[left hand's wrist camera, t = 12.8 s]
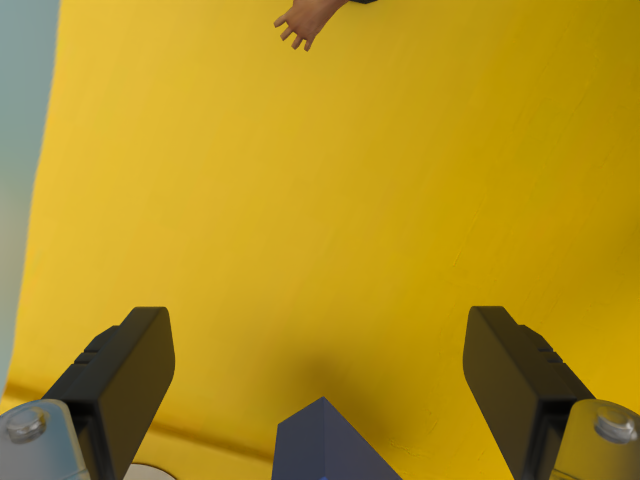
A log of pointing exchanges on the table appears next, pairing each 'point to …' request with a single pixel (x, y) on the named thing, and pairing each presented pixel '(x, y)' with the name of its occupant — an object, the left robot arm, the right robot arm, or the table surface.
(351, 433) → the long box
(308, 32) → the figurine
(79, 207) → the table surface
